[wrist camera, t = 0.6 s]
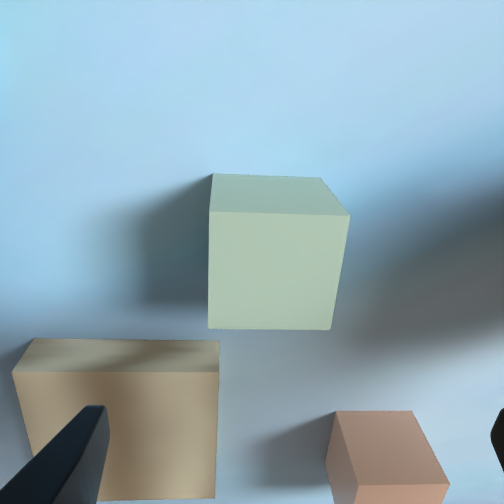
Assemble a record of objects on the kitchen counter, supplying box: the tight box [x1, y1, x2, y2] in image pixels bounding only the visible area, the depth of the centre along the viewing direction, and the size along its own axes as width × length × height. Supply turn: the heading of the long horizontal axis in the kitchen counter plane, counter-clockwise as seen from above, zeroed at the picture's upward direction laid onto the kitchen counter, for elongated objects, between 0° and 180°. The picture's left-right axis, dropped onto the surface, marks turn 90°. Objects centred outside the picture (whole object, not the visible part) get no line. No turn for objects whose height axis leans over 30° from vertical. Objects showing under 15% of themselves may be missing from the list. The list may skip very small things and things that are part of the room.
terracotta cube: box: [325, 411, 450, 504], centre depth 25 cm, size 5×5×5 cm
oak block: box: [12, 338, 220, 501], centre depth 23 cm, size 10×10×3 cm
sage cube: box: [208, 173, 350, 330], centre depth 17 cm, size 5×5×5 cm
